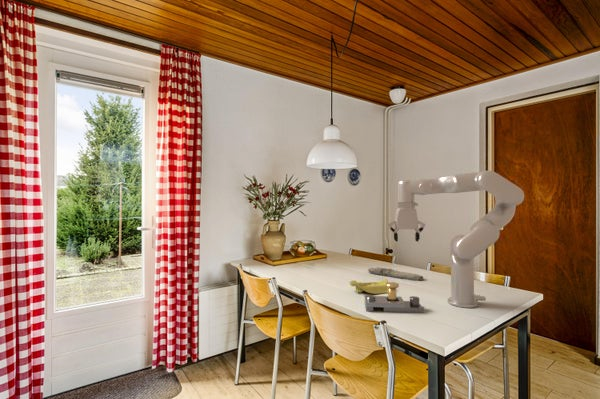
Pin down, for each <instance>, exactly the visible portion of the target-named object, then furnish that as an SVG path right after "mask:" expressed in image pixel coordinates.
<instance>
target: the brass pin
mask: <svg viewBox="0 0 600 399" xmlns="http://www.w3.org/2000/svg"><path fill="white" fill-rule="evenodd" d="M399 284H400V283H398V282H389V281H388V283H386V287H388V293H387V296H388V301H396V297H397V288H399V286H400V285H399Z"/></svg>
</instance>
